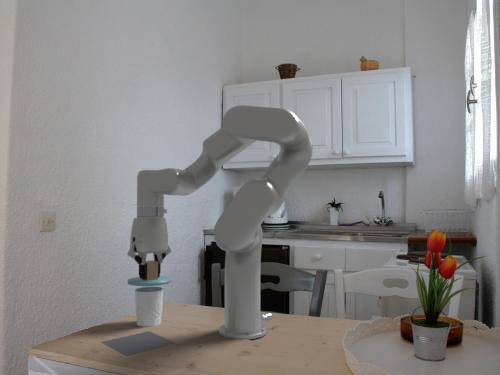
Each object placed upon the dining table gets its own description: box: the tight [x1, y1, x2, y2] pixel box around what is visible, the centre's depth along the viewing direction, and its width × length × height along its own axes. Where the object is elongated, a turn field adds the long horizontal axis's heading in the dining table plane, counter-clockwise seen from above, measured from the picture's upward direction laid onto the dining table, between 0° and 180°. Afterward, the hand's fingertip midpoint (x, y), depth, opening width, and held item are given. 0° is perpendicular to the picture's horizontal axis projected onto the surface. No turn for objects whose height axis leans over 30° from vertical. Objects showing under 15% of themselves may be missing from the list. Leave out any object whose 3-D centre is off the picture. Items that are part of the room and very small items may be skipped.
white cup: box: [134, 286, 164, 328], centre depth 119 cm, size 8×8×10 cm
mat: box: [101, 330, 177, 357], centre depth 101 cm, size 13×13×1 cm
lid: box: [127, 260, 172, 287], centre depth 119 cm, size 12×12×6 cm
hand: (149, 277), depth 119 cm, fingers closed on lid, 3 cm apart
